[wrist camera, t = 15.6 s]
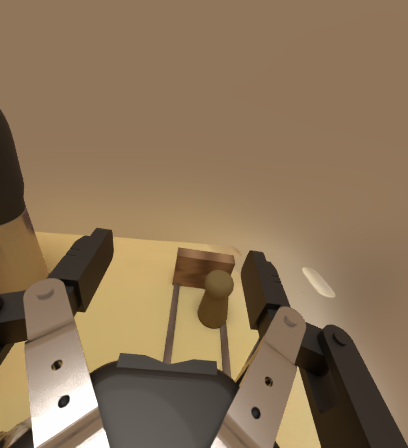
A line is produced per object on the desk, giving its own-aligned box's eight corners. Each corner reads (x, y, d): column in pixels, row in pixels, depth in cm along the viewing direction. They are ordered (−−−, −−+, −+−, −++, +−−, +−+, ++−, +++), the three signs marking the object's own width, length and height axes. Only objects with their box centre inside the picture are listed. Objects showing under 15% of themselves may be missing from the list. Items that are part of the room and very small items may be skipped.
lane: (150, 426, 28) (154, 405, 22) (173, 276, 49) (178, 247, 44) (237, 430, 29) (260, 411, 24) (223, 282, 50) (233, 255, 45)
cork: (221, 298, 46) (230, 263, 39) (231, 324, 41) (243, 289, 35) (194, 303, 44) (199, 266, 38) (201, 331, 39) (208, 294, 33)
